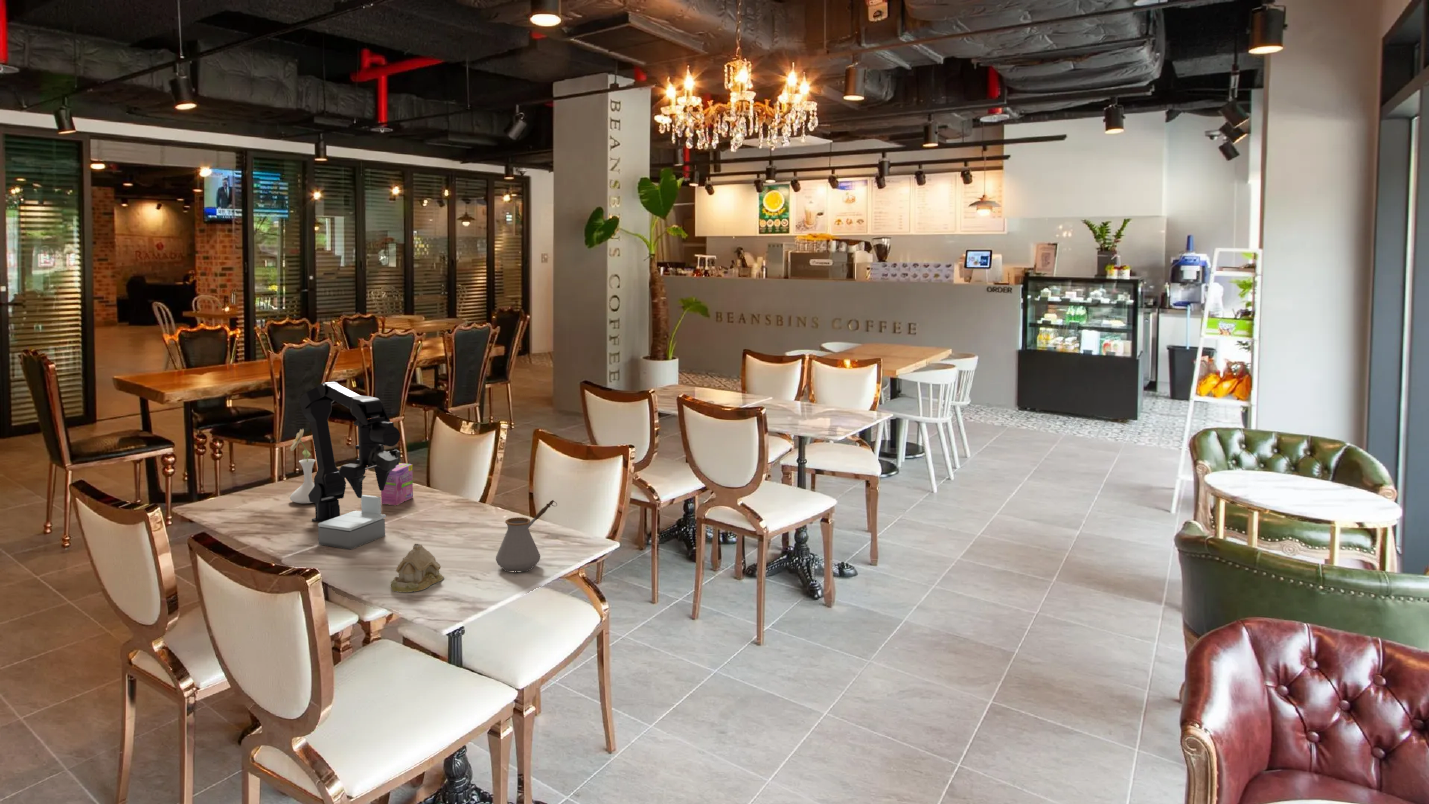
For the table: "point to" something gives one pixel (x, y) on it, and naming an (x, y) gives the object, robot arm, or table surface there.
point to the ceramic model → (416, 571)
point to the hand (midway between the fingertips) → (370, 494)
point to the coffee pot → (519, 544)
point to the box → (398, 485)
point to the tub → (351, 535)
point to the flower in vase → (307, 464)
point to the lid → (357, 515)
